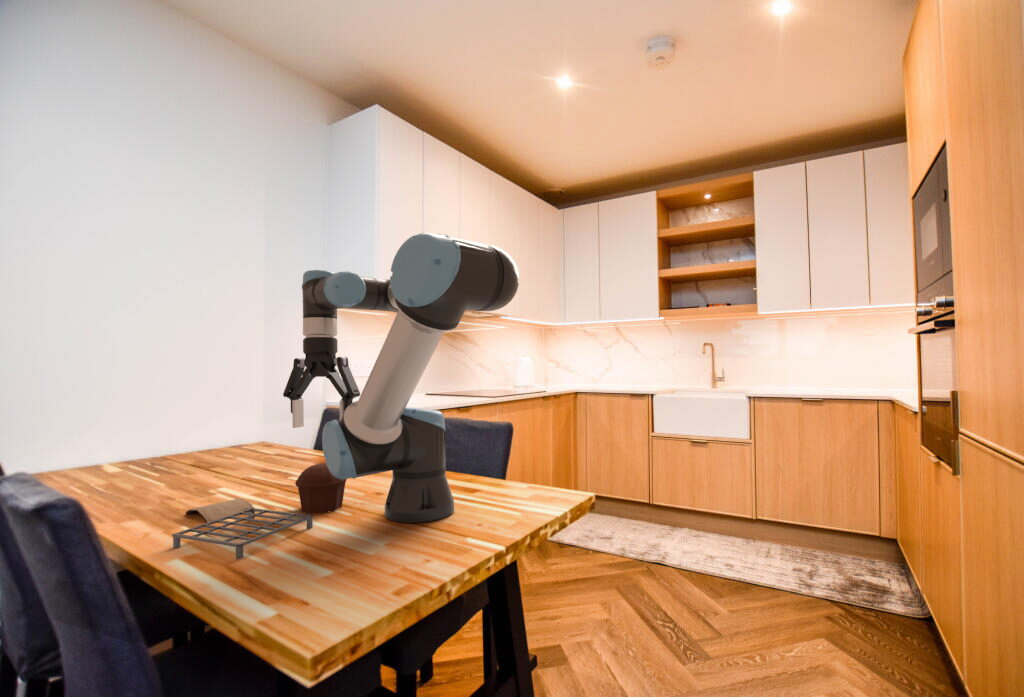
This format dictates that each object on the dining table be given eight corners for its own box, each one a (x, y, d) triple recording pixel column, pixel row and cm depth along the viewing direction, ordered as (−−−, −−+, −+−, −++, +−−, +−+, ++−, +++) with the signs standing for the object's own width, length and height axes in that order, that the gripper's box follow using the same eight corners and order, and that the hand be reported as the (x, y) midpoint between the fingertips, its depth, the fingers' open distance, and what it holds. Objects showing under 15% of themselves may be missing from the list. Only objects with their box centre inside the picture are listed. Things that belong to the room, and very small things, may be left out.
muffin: (287, 508, 113) (287, 465, 113) (334, 498, 121) (333, 458, 121) (308, 519, 104) (307, 472, 105) (356, 508, 112) (355, 464, 112)
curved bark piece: (258, 514, 110) (258, 502, 110) (209, 527, 102) (209, 514, 102) (229, 505, 119) (229, 494, 119) (182, 516, 111) (182, 504, 111)
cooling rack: (313, 527, 99) (313, 515, 99) (239, 559, 83) (239, 545, 83) (252, 519, 105) (252, 508, 105) (172, 548, 89) (172, 534, 89)
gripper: (374, 335, 113) (375, 426, 112) (290, 339, 121) (291, 424, 121) (354, 334, 106) (355, 431, 105) (266, 338, 114) (267, 428, 114)
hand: (321, 428), depth 113 cm, fingers open, 13 cm apart
